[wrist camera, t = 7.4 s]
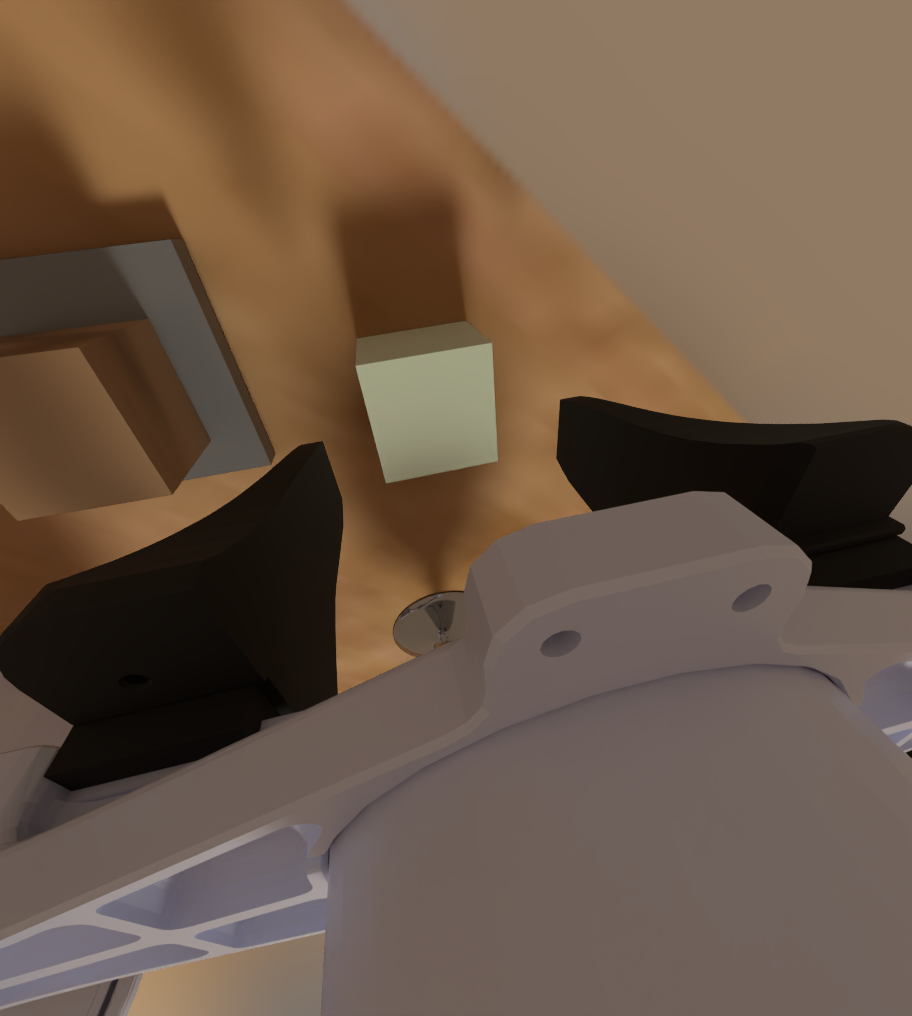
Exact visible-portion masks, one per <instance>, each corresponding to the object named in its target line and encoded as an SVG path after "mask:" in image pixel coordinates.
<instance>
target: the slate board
mask: <svg viewBox="0 0 912 1016" xmlns="http://www.w3.org/2000/svg"><path fill="white" fill-rule="evenodd" d="M142 319H149V320H150V322H151V324H152V326H153V328H154V330H155V332H156V334H157V336H158V338H159V340H160V341H161V343H162V345H163V347H164V349H165V351H166V353H167V355H168V357H169V359H170V361H171V363H172V365H173V367H174V369H175V371H176V373H177V375H178V377H179V379H180V381H181V382H182V384H183V386H184V388H185V390H186V392H187V394H188V396H189V398H190V400H191V402H192V404H193V406H194V408H195V410H196V412H197V414H198V416H199V418H200V420H201V422H202V423H203V425H204V427H205V429H206V431H207V433H208V435H209V437H210V439H211V442H210V443H209V445H208V446H207V447H206V449H205V450H204V452H203V453H202V454H201V456H200V457H199V458H198V460H197V461H196V463H195V464H194V465H193V467H192V468H191V470H190V471H189V472H188V474H187V475H186V476H185V478H184V479H183V481H184V480H189V479H195V478H200V477H206V476H211V475H217V474H222V473H228V472H234V471H239V470H245V469H250V468H256V467H261V466H267V465H271V464H272V461H273V459H274V456H275V452H274V450H273V447H272V445H271V443H270V440H269V438H268V436H267V433H266V431H265V429H264V427H263V424H262V422H261V420H260V417H259V415H258V413H257V410H256V408H255V406H254V403H253V401H252V399H251V396H250V394H249V392H248V389H247V387H246V385H245V382H244V380H243V378H242V375H241V373H240V371H239V369H238V366H237V364H236V362H235V359H234V357H233V355H232V352H231V350H230V348H229V345H228V343H227V341H226V338H225V336H224V334H223V331H222V329H221V327H220V324H219V322H218V320H217V317H216V315H215V313H214V311H213V308H212V306H211V304H210V301H209V299H208V297H207V294H206V292H205V290H204V287H203V285H202V283H201V280H200V278H199V276H198V273H197V271H196V269H195V266H194V264H193V262H192V259H191V257H190V255H189V253H188V250H187V248H186V246H185V243H184V241H183V239H169V240H160V241H152V242H144V243H136V244H127V245H119V246H111V247H103V248H94V249H86V250H78V251H69V252H61V253H53V254H45V255H36V256H28V257H20V258H12V259H3V260H0V337H4V336H12V335H20V334H28V333H36V332H44V331H52V330H61V329H69V328H77V327H85V326H93V325H101V324H109V323H117V322H126V321H134V320H142Z"/></svg>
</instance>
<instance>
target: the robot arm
mask: <svg viewBox="0 0 912 1016" xmlns="http://www.w3.org/2000/svg"><path fill="white" fill-rule="evenodd" d="M556 458H557V460H558V462H559V464H560V466H561V468H562V470H563V472H564V474H565V475H566V477H567V479H568V481H569V482H570V483H571V485H572V486H573V487H574V489H575V490H576V491H577V492H578V494H579V495H580V496H581V498H582V499H583V500H584V501H585V503H586V504H587V505H588V506H589V508H590V509H591V510H592V511H593V512H590V513H585V514H580V515H575V516H570V517H565V518H561V519H556V520H551V521H546V522H541V523H536V524H533V525H530V526H528V527H526V528H523V529H521V530H518V531H516V532H514V533H511V534H509V535H507V536H504V537H502V538H499V539H497V540H496V541H495V542H494V543H493V544H492V545H491V546H490V547H489V548H488V549H487V550H486V551H485V552H484V553H483V554H482V555H481V556H480V557H479V558H478V559H477V560H476V561H475V562H474V563H473V564H472V565H471V566H470V570H469V574H468V578H467V582H466V586H465V591H464V599H465V607H466V614H467V628H466V632H465V634H464V635H463V636H461V637H459V638H457V639H455V640H453V641H451V642H448V643H446V644H444V645H442V646H440V647H438V648H436V649H434V650H431V651H429V652H427V653H425V654H423V655H421V656H419V657H416V658H414V659H412V660H410V661H408V662H406V663H404V664H402V665H399V666H397V667H395V668H393V669H391V670H389V671H387V672H385V673H382V674H380V675H378V676H376V677H374V678H372V679H370V680H368V681H365V682H363V683H361V684H359V685H357V686H355V687H353V688H350V689H348V690H346V691H344V692H342V693H340V694H338V690H337V667H336V631H335V595H336V583H337V574H338V566H339V558H340V550H341V542H342V533H343V504H342V497H341V494H340V491H339V488H338V485H337V482H336V479H335V476H334V473H333V470H332V468H331V465H330V462H329V459H328V456H327V453H326V450H325V447H324V444H323V441H321V442H315V443H310V444H304V445H300V446H299V447H297V448H296V449H294V450H293V451H292V452H291V453H289V454H288V455H287V456H286V457H285V458H284V459H283V460H281V461H280V462H279V463H278V464H277V465H276V466H275V467H273V468H272V469H271V470H270V471H269V472H268V473H267V474H265V475H264V476H263V477H262V478H260V479H259V480H258V481H257V482H255V483H254V484H253V485H252V486H250V487H249V488H248V489H247V490H245V491H244V492H243V493H242V494H240V495H239V496H237V497H236V498H235V499H233V500H232V501H230V502H229V503H227V504H226V505H224V506H223V507H221V508H219V509H218V510H216V511H215V512H213V513H212V514H210V515H208V516H207V517H205V518H203V519H201V520H199V521H197V522H196V523H194V524H192V525H190V526H188V527H186V528H184V529H182V530H181V531H179V532H177V533H175V534H173V535H171V536H169V537H167V538H165V539H163V540H161V541H158V542H156V543H154V544H152V545H150V546H148V547H145V548H143V549H140V550H138V551H136V552H133V553H131V554H129V555H126V556H124V557H121V558H119V559H116V560H114V561H111V562H109V563H106V564H103V565H100V566H98V567H95V568H92V569H89V570H87V571H84V572H81V573H78V574H75V575H73V576H70V577H67V578H64V579H61V580H58V581H55V582H52V583H49V584H47V585H46V586H44V587H43V588H42V589H41V591H40V592H39V593H38V594H37V595H36V596H35V597H34V598H33V599H32V601H31V602H30V603H29V604H28V605H27V606H26V607H25V608H24V610H23V611H22V612H21V613H20V614H19V615H18V616H17V617H16V618H15V620H14V621H13V622H12V623H11V624H10V625H9V626H8V627H7V628H6V630H5V631H4V632H3V633H2V635H1V636H0V1016H127V1014H128V1012H129V1009H130V1007H131V1005H132V1002H133V1000H134V997H135V995H136V992H137V990H138V987H139V984H140V981H141V979H142V976H143V973H145V972H150V971H154V970H158V969H163V968H167V967H171V966H176V965H180V964H185V963H189V962H194V961H198V960H203V959H207V958H212V957H216V956H221V955H225V954H230V953H234V952H239V951H243V950H248V949H252V948H257V947H261V946H266V945H270V944H275V943H279V942H284V941H288V940H293V939H297V938H302V937H306V936H311V935H315V934H320V933H324V932H325V945H324V964H323V982H322V1000H321V1016H912V759H911V758H910V757H909V756H908V755H907V754H906V753H905V752H907V751H910V750H912V544H911V543H909V542H907V541H905V540H904V539H902V538H900V537H899V536H897V535H899V534H902V533H903V532H904V530H905V526H904V524H902V523H900V522H898V521H896V520H894V519H892V518H891V517H889V515H890V513H891V512H892V511H893V509H894V508H895V506H896V505H897V504H898V502H899V501H900V500H901V498H902V497H903V496H904V494H905V493H906V492H907V490H908V489H909V487H910V486H911V485H912V426H910V425H907V424H905V423H902V422H899V421H895V420H870V421H855V422H838V423H824V424H753V423H734V422H721V421H711V420H702V419H694V418H687V417H680V416H674V415H669V414H664V413H659V412H654V411H649V410H645V409H640V408H636V407H632V406H628V405H624V404H620V403H615V402H611V401H607V400H603V399H598V398H592V397H585V396H578V397H572V398H566V399H561V400H560V411H559V427H558V442H557V457H556Z"/></svg>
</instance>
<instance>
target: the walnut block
mask: <svg viewBox="0 0 912 1016" xmlns="http://www.w3.org/2000/svg"><path fill="white" fill-rule="evenodd" d="M210 442H211V439H210V437H209V435H208V433H207V431H206V429H205V427H204V425H203V423H202V422H201V420H200V418H199V416H198V414H197V412H196V410H195V408H194V406H193V404H192V402H191V400H190V398H189V396H188V394H187V392H186V390H185V388H184V386H183V384H182V382H181V381H180V379H179V377H178V375H177V373H176V371H175V369H174V367H173V365H172V363H171V361H170V359H169V357H168V355H167V353H166V351H165V349H164V347H163V345H162V343H161V341H160V340H159V338H158V336H157V334H156V332H155V330H154V328H153V326H152V324H151V322H150V320H149V319H142V320H134V321H126V322H117V323H109V324H101V325H93V326H85V327H77V328H69V329H61V330H52V331H44V332H36V333H28V334H20V335H12V336H4V337H0V504H1V505H2V506H3V507H4V508H5V509H6V510H7V511H8V512H9V513H10V514H11V515H12V516H13V517H14V518H15V519H16V520H17V521H21V520H27V519H33V518H39V517H44V516H50V515H56V514H62V513H68V512H74V511H80V510H86V509H92V508H97V507H103V506H109V505H115V504H121V503H127V502H133V501H139V500H144V499H150V498H156V497H162V496H168V495H172V494H173V493H174V492H175V490H176V489H177V488H178V486H179V485H180V483H181V482H182V481H183V479H184V478H185V476H186V475H187V474H188V472H189V471H190V470H191V468H192V467H193V465H194V464H195V463H196V461H197V460H198V458H199V457H200V456H201V454H202V453H203V452H204V450H205V449H206V447H207V446H208V445H209V443H210Z"/></svg>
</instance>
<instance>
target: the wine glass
mask: <svg viewBox="0 0 912 1016" xmlns="http://www.w3.org/2000/svg"><path fill="white" fill-rule="evenodd" d="M466 628H467V614H466V607H465V599H464V592H457V591H456V592H443V593H437V594H434V595H430V596H427V597H425V598H423V599H420V600H418V601H417V602H415V603H413V604H412V605H410V606H409V607H408V608H406V609H405V610H404V611H403V612H402V613H401V614H400V616H399V617H398V619H397V620H396V622H395V625H394V628H393V636H394V640H395V642H396V644H397V645H398V647H399V648H400V649H401V650H403V651H404V652H405V653H407V654H409V655H412V656H415V657H419V656H421V655H423V654H425V653H427V652H429V651H431V650H434V649H436V648H438V647H440V646H442V645H444V644H446V643H448V642H451V641H453V640H455V639H457V638H459V637H461V636H463V635H464V634H465V632H466Z"/></svg>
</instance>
